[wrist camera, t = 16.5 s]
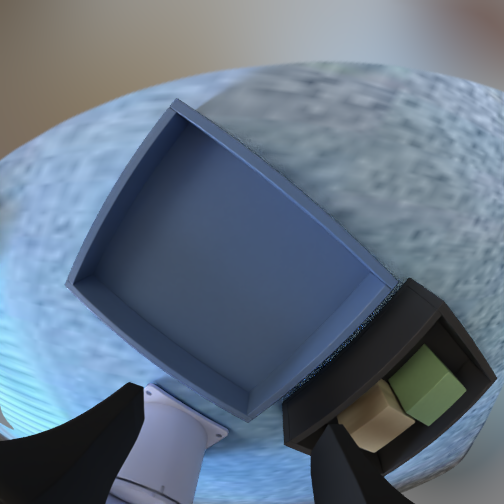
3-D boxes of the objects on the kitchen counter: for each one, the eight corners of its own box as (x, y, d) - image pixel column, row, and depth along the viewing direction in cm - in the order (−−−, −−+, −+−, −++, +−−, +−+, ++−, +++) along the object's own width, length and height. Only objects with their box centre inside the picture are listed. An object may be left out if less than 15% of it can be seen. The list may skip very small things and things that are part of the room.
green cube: (410, 396, 18) (428, 426, 14) (387, 379, 18) (405, 412, 14) (444, 363, 17) (467, 390, 13) (424, 343, 17) (449, 371, 13)
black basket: (370, 445, 20) (381, 478, 16) (281, 402, 19) (283, 445, 15) (471, 353, 18) (497, 378, 13) (409, 276, 16) (444, 301, 12)
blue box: (250, 395, 19) (248, 423, 16) (88, 272, 18) (63, 285, 15) (379, 267, 16) (399, 282, 13) (191, 112, 15) (176, 97, 12)
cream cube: (362, 420, 19) (374, 453, 15) (332, 403, 18) (342, 440, 14) (398, 390, 18) (415, 422, 14) (371, 371, 18) (389, 405, 14)
